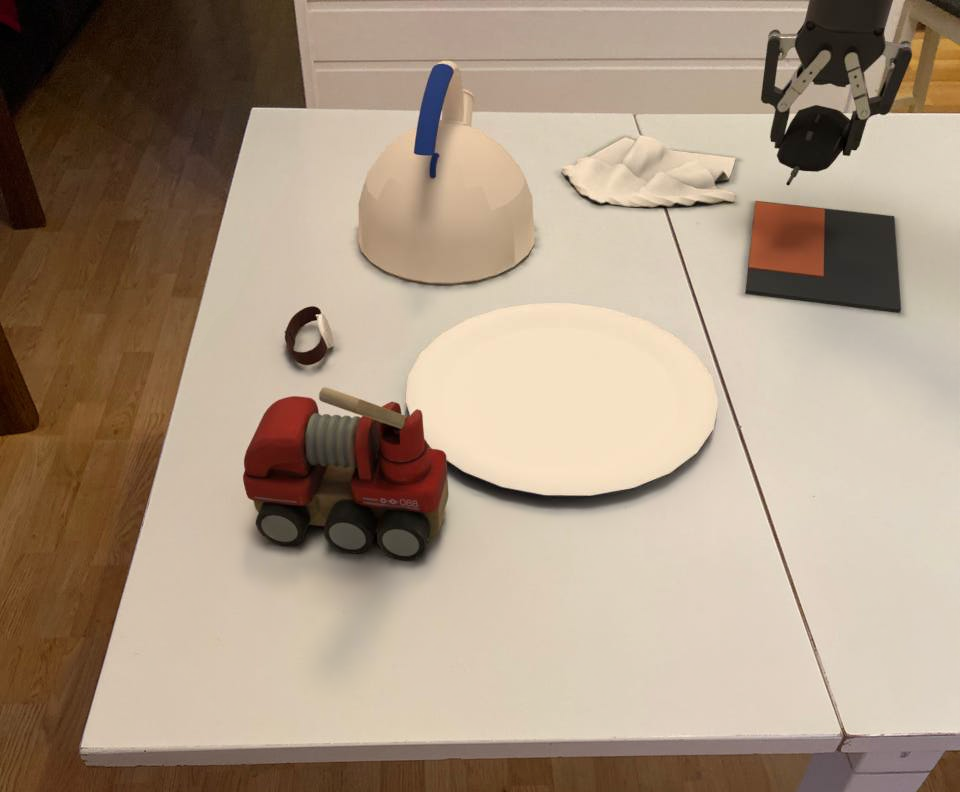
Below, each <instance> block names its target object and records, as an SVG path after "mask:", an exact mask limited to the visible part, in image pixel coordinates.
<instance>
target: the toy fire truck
mask: <svg viewBox="0 0 960 792" xmlns="http://www.w3.org/2000/svg"><path fill="white" fill-rule="evenodd" d="M318 400H319V401H320V402H321V403H324V404H328V405H330V406H333V407H335V408H338V409H341V410H343V411H347V412H350V413H353V414H356V415H355V416H352V417H351V416H350V415H343V416H341V415H340V414H334V415H331V414H328V413H324V414H320V410H319V407H318V403H317V401H316V400H315V399H314V398H312V397H308V396H307V397H306V396H298V395H296V396H295V395H294V396H287V397H284V398H280V399H278V400H276V401H274V402H273V403H272V404H271V405H270V406H268V408H267V409H266V410H265V412H264V413H263V415H262V417H261V419H260V421H259V424H258V425H257V428H256V429H255V432H254V434H253V436H252V438H251V440H250V442H249V444H248V447H247V448H246V450H245V454H244V458H243V467H244V471H243V475H242V481H243V486H244V491H245V495H246V497H247V498H248V499H249V500H251V501H252V502H253V504H254V508H255V510H256V512H257V513H258V514H257V516H256V519H255V525H256V528H257V530H258V532H259V534H260V535H261V536H262V537H264V539H266V540H268V541H269V542H271V543H273V544H276V545H278V546H284V547H291V546H292V547H293V546H295V545H298V544H299V543H300V542H302V541H303V540H304V538H305V535H306V533H307V530H308V527H309V525H310V526H319V527H323V534H324V538H325V539H326V542H328V543H329V544H330V545H331V546H332V547H333V548H335V549H337V550H338V551H340V552H343V553H347V554H361V553H364V552H366V551H368V549H370V548H371V547H372V545H373V543H374V540H375V536H376V540H377V544H378V545H379V548H381V550H382V551H383V552H384V553H385V554H386V555H388V556H390V557H392V558H395V559H397V560H404V561H412V560H415V559H417V558H420V557H421V556H422V555H424V553H425V551H426V549H427V545H428V543H429V538H430V537H433V536H435V535H438V533H439V532H440V529H441V526H442V524H443V523H442V522H443V518H444V515H445V512H446V508H447V503H448V499H449V479H448V476H447V475H448V462H447V459H446V454H445V452H443V451H442V450H438V449H431V448H430V447H429V446H428V443H427V442H426V440H425V439H424V429H423V415H422V412H421V410H418V409H416V410H415V411H414V412H413V413H412V414H411V415H410V414H409V415H404V414H402V409H401V404H400V403H398V402H396V401H390V402H388V403H385V404H384V405H382V406H381V405H378V404H375V403H372V402H370V401H366V400H364V399H361V398H358V397H355V396H352V395H349V394H347V393H344V392H341V391H338V390H335V389H332V388H330V387H327V386H326V387H325V386H324V387H322V388H321V389H320V391H319V394H318ZM360 416H361V417H360Z"/></svg>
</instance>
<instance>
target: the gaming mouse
mask: <svg viewBox="0 0 960 792" xmlns="http://www.w3.org/2000/svg"><path fill="white" fill-rule="evenodd" d="M850 120H851V118H849V117H848V116H846V115H845V114H844V112H842V111H841V110H839V109H836V108H832V107H827V106H823V105H819V104H815V105H812V106H808V107H805V108H802V109H798V111H796V114H795V115H794V116H793V118H792V120H791V121H790V122H789V125H788V127H787V128H786V131H785V135H784V139H783V143H782V144H781V146H780V148H779V149H778V151H777V154H776V157H777V160H778V163H780V164H781V165H783V166H785V167H787V168H790V169H792V170H791V172H790V176H789V178H788V179H787V181H786V182H785V184H786V186H790V185H791V183H792V182H793V180H794V178H796V177H797V175H798V174H799V172H800V171H801V172H812V173H814V172H815V173H818V172H821V171H824V170H825V171H826V170H827V169H828V168H830V167H831V166H832V164H833V163H834V162H835V161H836V160H837V158H838V157H839V156H840V154H841V153H843V145H844V142H845V138H846V134H847V131H848V127H849V123H850Z"/></svg>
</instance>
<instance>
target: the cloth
mask: <svg viewBox="0 0 960 792" xmlns="http://www.w3.org/2000/svg"><path fill="white" fill-rule="evenodd" d="M735 162H736V157H730V156H722V155H714V154H705V153H697V152H690V151H689V152H688V151H680V150H673V149H670V148H669V147H667V146H666V145H665V144H664V143H662V142H661V141H660V140H658V139H655V138H654V137H650V136H646V135H641V134H639V135H637V137H636V138H635V140H634V139H631V138H629V137H626V136H625V137H622V138H621V139H619V140H616V141H615V142H614V143H611V144H610V145H608V146H606V147H605V148H603V149H601V150H599V151H597V152H595V153H594V154H592V155H591V156H585V157H581V158H579V159H577V160H576V162H575V165H572V164H568V165H564V166H563V167H561V168H560V170H561V172H562V175H563V177H565V178H567V180H568V181H569V183H570V184H571V185H573V187H574V189H576V191H577V193H578V194H579V195H581V196H585V197H588V198H589V199H590V200H591V201H593V202H594V203H597V204H605V203H607V204H609V205H613V206H623V207H628V208H629V207H630V208H631V207H633V208H637V207H646V208H656V207H665V208H669V207H676V206H681V205H682V206H686V207H690V206H691V207H692V206H696V205H702V204H703V205H704V204H713V205H714V204H717V203H721V202H733V203H734V200H735V197H736V194H735V193H734V192H732V191H730V190H728V189H721V188H720V189H719V188H717V186H716V182H723V181H727V180H730V178H731V176H732V172H733V169H734V166H735Z"/></svg>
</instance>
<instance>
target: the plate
mask: <svg viewBox="0 0 960 792" xmlns="http://www.w3.org/2000/svg"><path fill="white" fill-rule="evenodd" d="M719 404H720V403H719V399H718V395H717V391H716V386H715V382H714V378H713V376H712V375H711V373H710V372H709V370H708V369H707V368H706V366H705V364H704V363H703V362H702V360H701V358H700V357H699V355H698V354H697V353H696V352H694V351H693V350H692V349H691V348H689V347H688V346H687V345H686V344H685V343H684V342H683V341H681V340H680V339H679V338H678V337H676V336H675V335H674V334H672V333H670V332H668V331H666V330H664V329H662V328H661V327H659V326H657V325H655V324H653V323H651V322H650V321H647V320H645V319H643V318H640V317H636V316H634V315H630V314H627V313H624V312H621V311H618V310H614V309H611V308H608V307H607V308H606V307H601V306H594V305H587V304H581V303H575V302H535V303H527V304H521V305H520V304H519V305H514V306H508V307H500V308H498V309H494V310H491V311H489V312H485V313H482V314H479V315H476V316H473V317H469V318H467V319H465V320H463V321H461V322H460V323H458V324H456V325H454V326H452V327H451V328H449V329H447V330H446V331H444V332H442V333H440V334H439V335H438V336H437V337H435V339H434V340H432V342H431V343H429V344H428V346H426V347H425V348H424V349H423V350H422V351H421V352H420V353H419V355H418V356H417V358H416V360H415V362H414V364H413V366H412V367H411V370H410V372H409V373H408V375H407V382H406V392H405V405H406V408H407V410H408V414H409V416H410V415H411V414H412V413H413V412H414V411H415V410H416V409H418V410H421V412H422V415H423V429H424V439H425V440H426V442H427V443H428V446H429V449H438V450H442V451H443V452H445V454H446V459H447V464H450V465H451V466H452V467H454V468H456V469H457V470H458V471H459V472H461V473H463V474H465V475H468V476H469V477H473V478H475V479H477V480H480V481H482V482H485V483H487V484H489V485H492V486H495V487H497V488H500V489H504V490H507V491H514V492H519V493H524V494H530V495H533V496H540V497H548V498H549V497H550V498H551V497H553V498H592V497H598V496H605V495H608V494H615V493H620V492H626V491H632V490H635V489H637V488H640V487H642V486H645V485H647V484H649V483H652V482H656V481H657V480H660V479H662V478H665V477H668V476H669V475H671V474H672V473H673V472H675V471H677V470H678V469H679V468H680V467H682V466H683V465H684V464H686V463H687V462H688V461H690V460H691V459H693V458H694V457H696V455H698V453H699V451H701V448H702V447H703V446H704V444H706V442H707V440H708V439H709V437H710V436H711V434H712V433H713V431H714V428H715V424H716V419H717V418H716V417H717V412H718V410H719V409H718V408H719Z"/></svg>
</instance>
